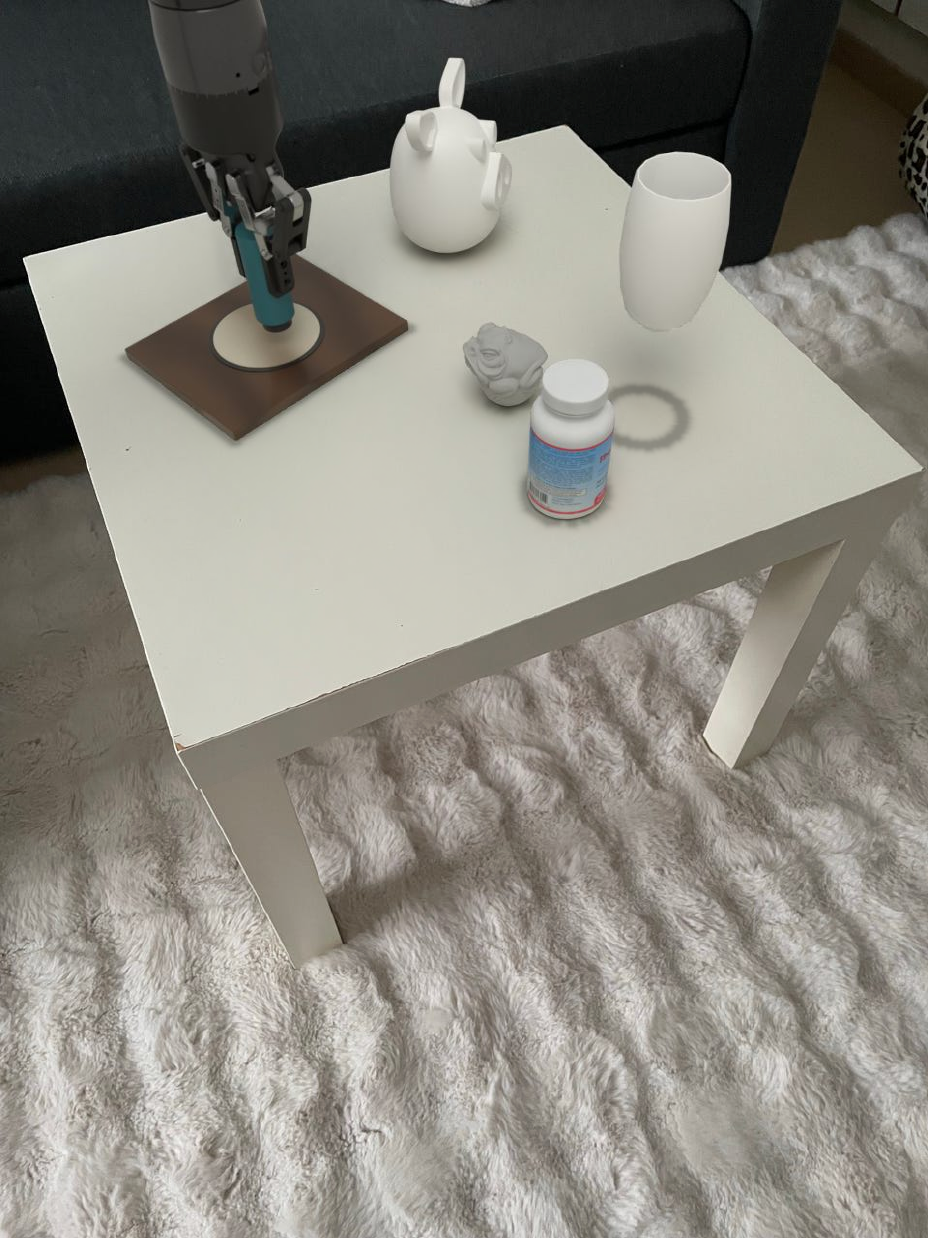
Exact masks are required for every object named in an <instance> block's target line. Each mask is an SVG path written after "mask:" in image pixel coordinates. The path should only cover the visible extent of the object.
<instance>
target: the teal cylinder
mask: <svg viewBox="0 0 928 1238" xmlns="http://www.w3.org/2000/svg"><path fill="white" fill-rule="evenodd" d="M273 230H274V225H273V226H272V227H270V228H268V229H267V235H268V238H269V241H270V240H271V239H273ZM235 235H236V239H237V243H238V247H239V251H240V256H241V260H242V264H243V268H244V272H245V276H246V278H245V280H246V281H247V284H248V288H249V292H250V296H251V300H252V304H253V308H254V312H255V316H256V319H257V320H258V322H260V323H261V324H262V326H263V328H264V329H265V330H266V331H268V332H272V333H278V332H283V331H285V330H287V329H288V328H289V327H290V326H291V325H292V318H293V316H294V313H295V310H294V305H293V300H292V295H291V291H290V292H289V293H287V294H285V295H283V296H282V297H280V298H275V297H273V296H272V295H270V294H269V291H268V287H267V283H266V278H265V274H264V270H263V265H262V261H261V256H262V255H261V253H260V250H259V247H258V244H257V241H256V238H255V236H254V233H253V232H252V231H249V230H247V229H246V227H245V224H244V221H242V222H241V223H239V224H238V225H237V226H236V228H235Z"/></svg>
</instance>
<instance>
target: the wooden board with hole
mask: <svg viewBox="0 0 928 1238" xmlns="http://www.w3.org/2000/svg"><path fill="white" fill-rule="evenodd" d="M290 261H291V266H292V272H293V277H294V281H295V285H294V288H293V290H292V291H291V295H292V300H293V305H294V310H295V313H294V316H293V318H292V325H291V326H290V327H289V328H288V329H287V330H285V331H283V332H278V333H272V332H268V331H266V330H265V329H264V328H263V326H262V324H261V323H260V322H258V320H257V319H256V316H255V312H254V308H253V304H252V300H251V296H250V292H249V288H248V284H247V280H246V281H245V280H244V281H243V282H242V283H240V284H238V285H236V286H235V287H233V288H230V289H229V290H228V291H226V292H224V293H222V294H220V295H218V296H217V297H215V298H213V299H211V300H209V301H208V302H206V303H204V304H203V305H201V306H199V307H197V308H195V309H194V310H192V311H190V312H188V313H186V314H184V315H183V316H181V317H179V318H178V319H176V320H174V321H172V322H170V323H169V324H167V325H165V326H163V327H161V328H159V329H158V330H156V331H154V332H153V333H150V334H149V335H147V336H145V337H143V338H141V339H140V340H138V341H136V342H135V343H133V344H131V345H129V346H127V347H126V348H124V352H125V355H126V357H127V359H129V360H130V361H132V362H133V363H134V364H135V365H136V366H138V367H139V368H140V369H142V370H143V371H144V372H146V374H148V375H150V376H151V377H152V378H153V379H155V380H156V381H157V382H158V383H160V384H161V385H163V386H164V387H165V388H166V389H168V390H169V391H170V392H172V393H173V394H174V395H176V396H177V397H178V398H179V399H181V400H182V401H184V402H185V403H186V404H187V405H189V406H190V407H191V408H193V409H194V410H195V411H197V412H198V413H199V414H200V415H202V416H203V417H204V418H206V419H207V420H208V421H209V422H210V423H212V424H213V425H215V426H216V427H217V428H218V429H220V430H221V431H223V432H224V433H225V434H227V436H229V437H231V438H232V439H233V440H234V441H238V440H240V439H241V438H243V437H245V435H248V434H249V433H250V432H252V431H253V430H255V429H256V428H258V427H259V426H261V425H262V424H264V423H266V422H267V421H268V420H271V419H272V418H273V417H275V416H276V415H278V414H279V413H281V412H283V411H284V410H286V409H287V408H289V407H290V406H292V405H294V404H295V403H297V402H298V401H300V400H301V399H303V398H304V397H306V396H308V395H309V394H311V393H312V392H314V391H315V390H317V389H319V388H321V386H323V385H325V384H327V383H328V382H329V381H331V380H332V379H334V378H335V377H337V376H338V375H340V374H342V373H343V372H344V371H346V370H347V369H349V368H351V367H352V366H354V365H356V364H357V363H359V362H360V361H362V360H363V359H365V358H366V357H368V356H369V355H371V354H373V353H374V352H376V351H377V350H379V349H380V348H382V347H383V346H385V345H386V344H388V343H390V342H391V341H393V340H394V339H396V338H397V337H399V336H401V335H402V334H404V333H405V332H407V331H408V330H409V325H408V324H409V323H408V320H407V319H405V318H404V317H402V316H400V315H399V314H397V313H396V312H394V311H393V310H390V309H389V308H388V307H385V306H384V305H382V304H381V303H379V302H377V301H376V300H374V299H372V298H370V297H369V296H367V295H365V294H364V293H362V292H360V291H359V290H357V289H355V288H354V287H352V286H350V285H349V284H347V283H346V282H344V281H342V280H341V279H339V278H337V277H336V276H334V275H332V274H330V273H329V272H327V271H325V270H324V269H322V268H320V267H319V266H317V265H316V264H314V263H312V262H310V261H309V260H308V259H305V258H304V257H303V256H301V255H299V254H297V253H295V254H294V255H292V256H290Z"/></svg>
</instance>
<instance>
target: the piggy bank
mask: <svg viewBox="0 0 928 1238" xmlns="http://www.w3.org/2000/svg"><path fill="white" fill-rule="evenodd" d="M465 85H466V64H465V60H464V59H463V58H462V57H449V58H448V59H447V62H446V65H445V67H444V70H443V71H442V75H441V77H440V80H439V86H438V102H439V106H438V107H432V108H428V109H425V110H415V111H412V112H410V113H407V114H406V116H405V121H404V123H403V124H402V126H401V128H400V129H399V131H398V133H397V135H396V138H395V140H394V144H393V146H392V150H391V157H390V164H389V195H390V202H391V203H390V204H391V208H392V211H393V215H394V218H395V220H396V222H397V225H398V226H399V228H400V230H401V231H402V232H403V234H404V235H405V236H406V237H407V238H408V239H409V240H410V241H411V242H412V243H414V244H415V245H416V246H418V247H420V248H422V249H424V250H428V251H431V252H435V253H439V254H442V253H443V254H450V253H451V254H452V253H458V252H462V251H465V250H468V249H471V248H472V247H474V246H477V245H478V244H479V243H482V241H484V240H485V239H486V238H487V237H488V236H489V235H490V234H491V232H492V231H493V230H494V229H495V226H497V223H498V221H499V219H500V216H501V213H502V209H503V205H504V203H505V202H506V200H507V198H508V195H509V193H510V189H511V186H512V180H513V179H512V178H513V169H512V164H511V161H510V160H509V158H508V157H507V156H506V155H505V154H504V153H503V152H500V151H498V152H497V151H496V149H495V145H496V144H497V138H498V127H497V123H496V121H495V120H487V119H479V118H478V117H476V116H475V115H473V113H471V112H469V111H467V110H464V109H462V108H461V107H462V104H463V100H464V95H465Z"/></svg>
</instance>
